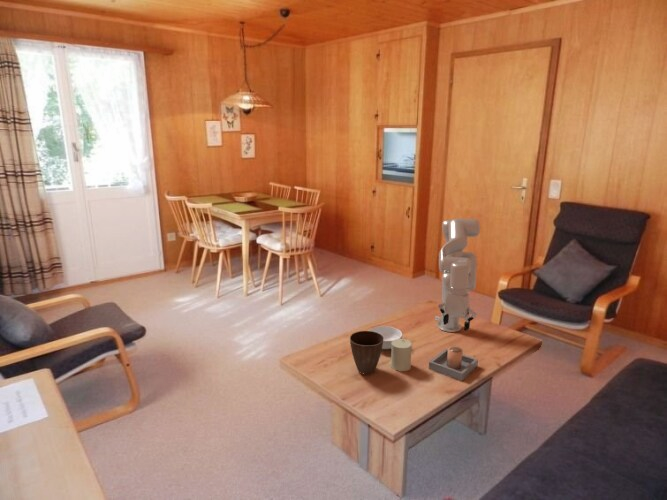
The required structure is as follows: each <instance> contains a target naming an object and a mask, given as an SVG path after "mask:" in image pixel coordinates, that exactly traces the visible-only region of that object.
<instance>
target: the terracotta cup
mask: <svg viewBox="0 0 667 500" xmlns="http://www.w3.org/2000/svg"><path fill="white" fill-rule="evenodd" d="M447 350H448V355H447V367H449V368H452V369H460V368H461V364H462V354H463V351H464V350H463V349H462V348H461V347H460V346H456V345H455V346H449V347H448V348H447Z"/></svg>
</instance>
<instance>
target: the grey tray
mask: <svg viewBox="0 0 667 500" xmlns="http://www.w3.org/2000/svg"><path fill="white" fill-rule="evenodd" d="M447 355H448V348H447V349H446V348H445V349H444V350H443V351H441V352H440V353H438V355H436V356H435V357H433V358H432V359H431V360H429V361H428V369H429V370H431V371H433V372H436V373H439V374H442V375H444V376H447V377H450V378H453V379H455V380H457V381H461V382H463V381H464V380H465V379H466V378H467V377H468V376H469V375H470V374H471V373H472V372H473V371H475V369H477V368H478V367H479V366H478V364H479V359H477V358H474V357H472V356H468V355H465V354H463V353H462V364H461V368H460V369H452V368H449V367H447Z"/></svg>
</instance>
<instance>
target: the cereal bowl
mask: <svg viewBox="0 0 667 500" xmlns="http://www.w3.org/2000/svg"><path fill="white" fill-rule="evenodd" d="M368 331H372V332H376V333H379V334H381V335H382V336H383V338H384V339H383V345H382V350H391V348H392V344H391V342H392V341H393V340H396V339H403V333H402V330H400V329H398V328H396V327H393V326H389V325H380V326H379V325H377V326H374V327H372V328H370V329H369V330H368Z"/></svg>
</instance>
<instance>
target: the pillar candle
mask: <svg viewBox="0 0 667 500" xmlns="http://www.w3.org/2000/svg"><path fill="white" fill-rule="evenodd" d="M391 344H392V348H391V349H390V350H391V353H390V354H391V355H390V357H391V358H390V367H392V368H393V369H392V368H391V369H392V370H394V369H395V370H394V371H396V370H398V371H397V372H407V371H410V370H411V367H412V365H411V364H412V341H410V340H408V339H405V338H402V339H396V340H393V341H392V342H391ZM406 370H407V371H406Z"/></svg>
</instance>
